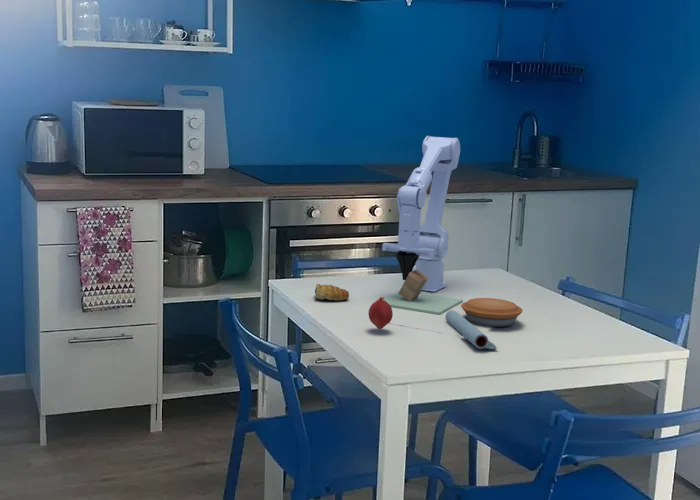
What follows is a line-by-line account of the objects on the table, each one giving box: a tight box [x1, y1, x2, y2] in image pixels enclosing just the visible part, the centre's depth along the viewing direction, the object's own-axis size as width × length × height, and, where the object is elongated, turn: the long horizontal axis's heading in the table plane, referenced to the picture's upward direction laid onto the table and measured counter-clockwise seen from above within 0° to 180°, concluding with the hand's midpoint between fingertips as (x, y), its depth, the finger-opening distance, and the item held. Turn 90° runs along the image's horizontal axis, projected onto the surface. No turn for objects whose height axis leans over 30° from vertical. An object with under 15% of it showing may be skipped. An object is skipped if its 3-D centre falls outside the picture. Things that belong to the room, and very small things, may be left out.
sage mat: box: [384, 292, 464, 315], centre depth 241 cm, size 18×18×1 cm
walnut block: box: [397, 269, 429, 301], centre depth 241 cm, size 5×4×7 cm
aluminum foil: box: [445, 309, 498, 350], centre depth 212 cm, size 23×7×3 cm, turn 11°
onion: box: [367, 296, 394, 330], centre depth 212 cm, size 6×6×8 cm
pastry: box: [314, 283, 350, 302], centre depth 239 cm, size 9×7×4 cm
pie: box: [460, 297, 524, 327], centre depth 225 cm, size 16×16×5 cm
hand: (406, 279), depth 242 cm, fingers closed
